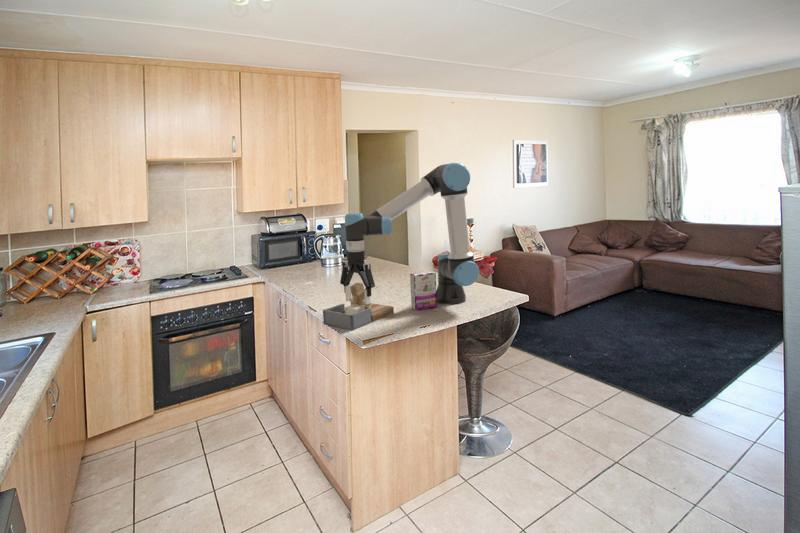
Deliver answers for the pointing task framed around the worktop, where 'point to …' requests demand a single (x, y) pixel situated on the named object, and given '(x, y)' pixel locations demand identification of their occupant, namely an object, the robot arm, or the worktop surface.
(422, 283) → the candy bar box
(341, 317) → the tray
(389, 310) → the board
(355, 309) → the tile
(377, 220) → the robot arm
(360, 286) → the scraper
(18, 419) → the worktop surface
